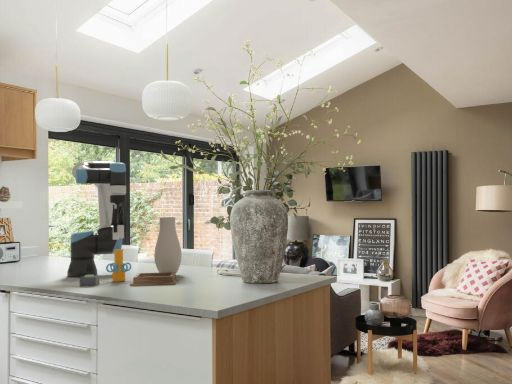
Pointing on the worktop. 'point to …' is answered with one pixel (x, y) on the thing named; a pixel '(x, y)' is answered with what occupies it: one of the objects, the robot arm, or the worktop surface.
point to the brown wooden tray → (154, 279)
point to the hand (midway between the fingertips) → (118, 239)
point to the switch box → (89, 281)
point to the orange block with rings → (118, 266)
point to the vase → (167, 247)
